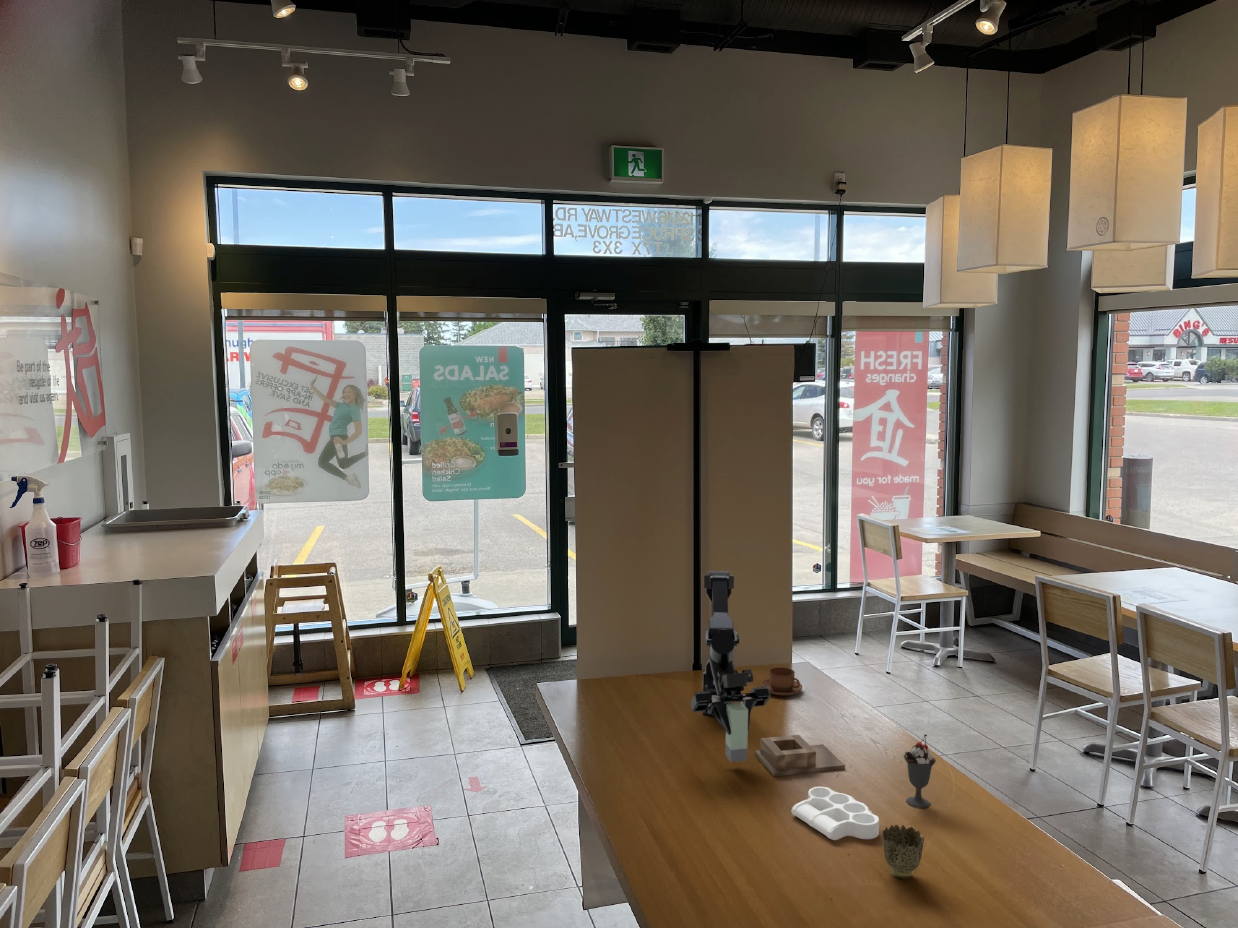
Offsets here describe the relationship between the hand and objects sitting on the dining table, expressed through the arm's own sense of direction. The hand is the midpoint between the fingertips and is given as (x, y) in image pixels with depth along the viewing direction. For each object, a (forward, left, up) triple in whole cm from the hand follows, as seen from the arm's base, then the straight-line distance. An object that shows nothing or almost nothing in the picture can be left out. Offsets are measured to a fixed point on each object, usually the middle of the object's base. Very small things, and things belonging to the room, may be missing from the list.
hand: (738, 733), depth 203 cm
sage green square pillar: (-1, +1, -7) cm, 7 cm away
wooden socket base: (+10, +13, -9) cm, 19 cm away
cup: (+44, -22, -9) cm, 50 cm away
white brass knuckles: (+27, -9, -10) cm, 30 cm away
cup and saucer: (-13, +55, -10) cm, 57 cm away
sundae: (+39, +8, -9) cm, 41 cm away
